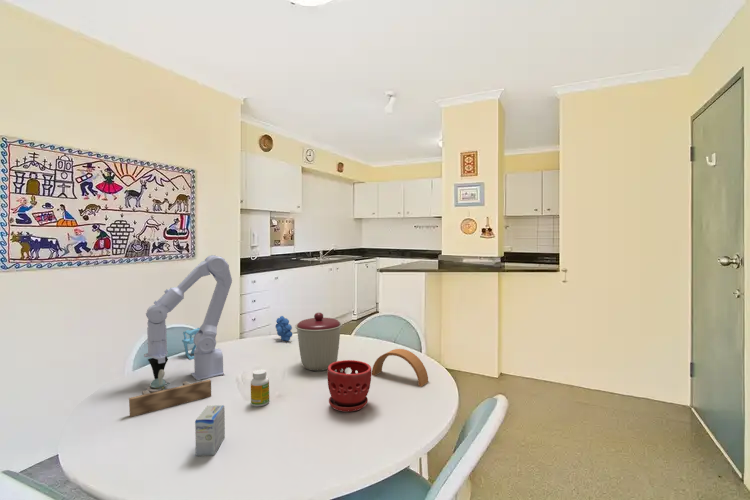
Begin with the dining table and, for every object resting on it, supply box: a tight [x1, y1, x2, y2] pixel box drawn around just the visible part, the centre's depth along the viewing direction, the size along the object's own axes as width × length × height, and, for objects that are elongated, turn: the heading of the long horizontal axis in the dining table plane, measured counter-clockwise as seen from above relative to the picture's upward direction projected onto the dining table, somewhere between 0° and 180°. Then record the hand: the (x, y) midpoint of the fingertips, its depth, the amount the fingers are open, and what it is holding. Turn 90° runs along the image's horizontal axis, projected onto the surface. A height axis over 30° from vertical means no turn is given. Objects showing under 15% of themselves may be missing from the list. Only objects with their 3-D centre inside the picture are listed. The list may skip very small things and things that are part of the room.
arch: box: [371, 348, 429, 388], centre depth 137 cm, size 6×20×10 cm, turn 56°
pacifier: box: [146, 369, 170, 393], centre depth 130 cm, size 7×6×6 cm
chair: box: [181, 327, 200, 360], centre depth 166 cm, size 8×8×12 cm
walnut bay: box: [128, 378, 212, 418], centre depth 121 cm, size 22×10×5 cm, turn 129°
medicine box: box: [194, 404, 226, 457], centre depth 94 cm, size 8×4×9 cm, turn 5°
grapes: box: [275, 315, 293, 342], centre depth 187 cm, size 12×7×12 cm, turn 51°
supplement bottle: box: [250, 369, 270, 407], centre depth 118 cm, size 5×5×10 cm
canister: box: [294, 312, 343, 371], centre depth 151 cm, size 18×18×21 cm
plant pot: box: [326, 359, 372, 413], centre depth 116 cm, size 13×13×12 cm
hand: (158, 378), depth 134 cm, fingers closed
